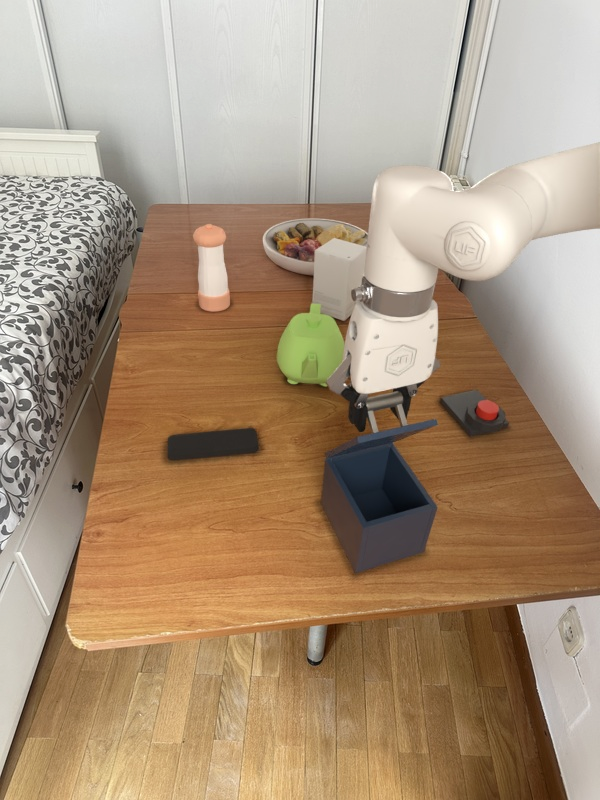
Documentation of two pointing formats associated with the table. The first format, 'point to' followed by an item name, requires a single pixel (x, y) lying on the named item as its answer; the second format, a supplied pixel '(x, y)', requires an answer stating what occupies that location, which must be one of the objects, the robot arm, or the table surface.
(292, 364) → the teapot
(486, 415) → the button
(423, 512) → the lidded box
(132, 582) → the table surface
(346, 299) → the white product box
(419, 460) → the table surface
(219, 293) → the pepper shaker
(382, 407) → the blue drawer with handle
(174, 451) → the remote control
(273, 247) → the bowl
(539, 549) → the table surface
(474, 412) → the switch block
